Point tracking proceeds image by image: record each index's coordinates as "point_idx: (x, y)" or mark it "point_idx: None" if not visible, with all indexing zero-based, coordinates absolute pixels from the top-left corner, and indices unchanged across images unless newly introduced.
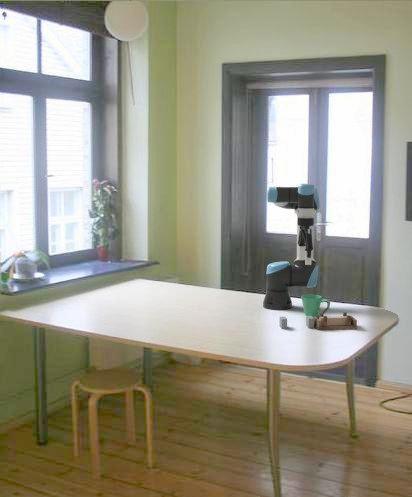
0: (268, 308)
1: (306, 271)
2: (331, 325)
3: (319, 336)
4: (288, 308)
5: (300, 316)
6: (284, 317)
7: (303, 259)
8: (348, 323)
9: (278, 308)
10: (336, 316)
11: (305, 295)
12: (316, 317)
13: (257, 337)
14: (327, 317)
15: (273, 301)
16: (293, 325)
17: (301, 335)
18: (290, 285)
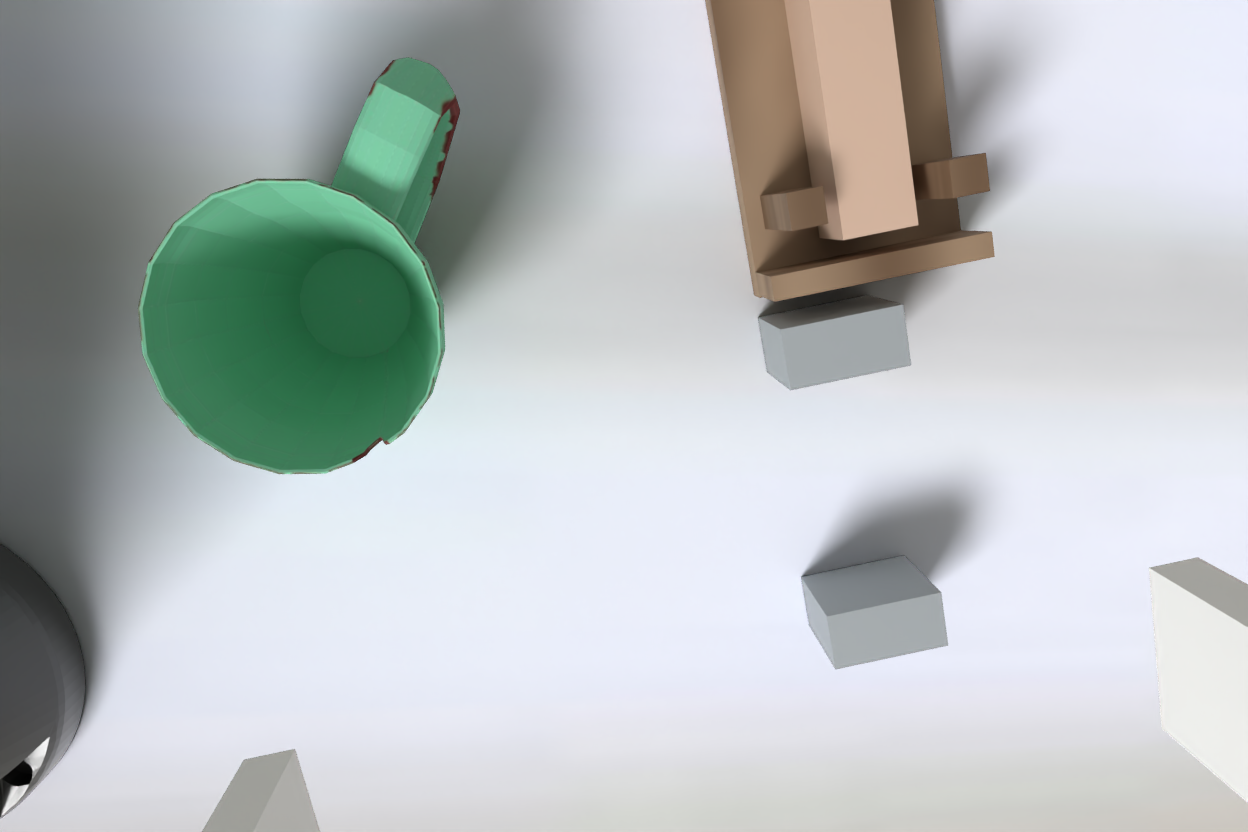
0: (59, 759)
1: None
2: None
3: (1189, 254)
4: (9, 551)
5: None
6: (871, 620)
7: (295, 792)
8: None
9: (76, 661)
10: (820, 22)
11: (184, 413)
12: (823, 272)
13: (1202, 789)
14: (876, 142)
15: (19, 756)
16: (771, 495)
17: (1148, 424)
18: None
